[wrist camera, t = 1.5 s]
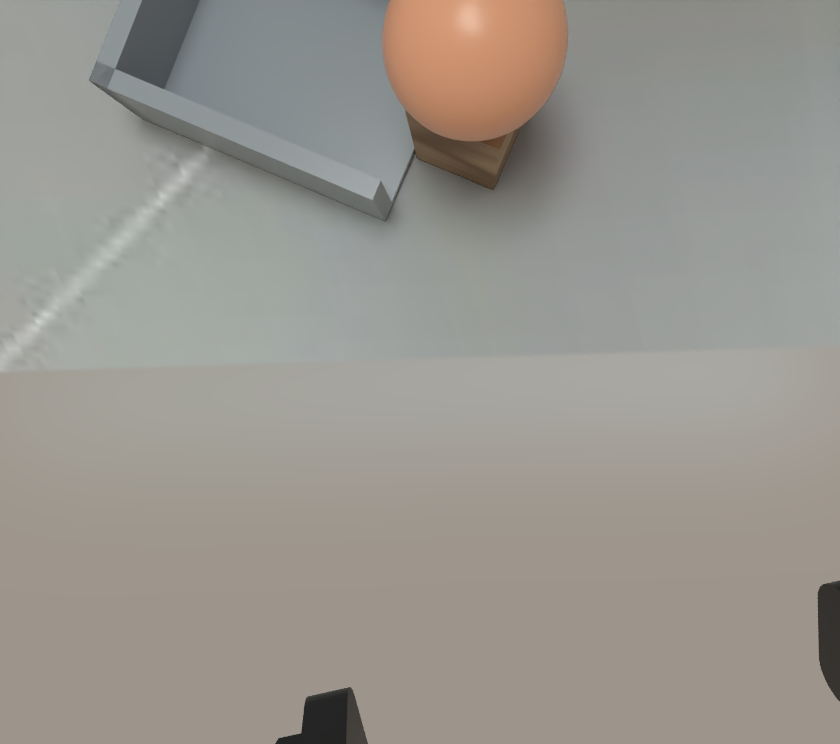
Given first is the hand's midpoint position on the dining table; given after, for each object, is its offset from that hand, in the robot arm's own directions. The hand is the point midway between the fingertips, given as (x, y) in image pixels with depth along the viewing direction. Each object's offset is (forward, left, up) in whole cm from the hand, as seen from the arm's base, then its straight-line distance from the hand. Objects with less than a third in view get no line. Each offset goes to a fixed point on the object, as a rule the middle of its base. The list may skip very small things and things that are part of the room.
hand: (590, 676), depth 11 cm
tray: (-18, -16, -25) cm, 35 cm away
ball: (-16, -6, -14) cm, 23 cm away
